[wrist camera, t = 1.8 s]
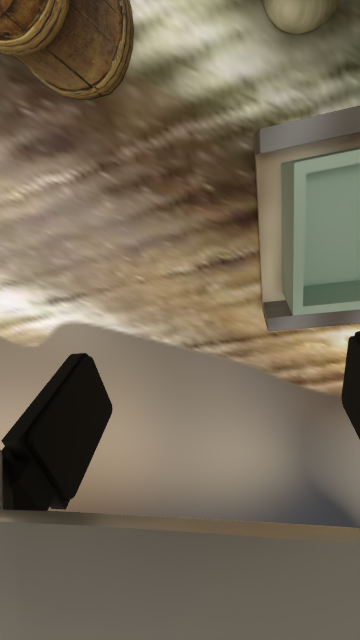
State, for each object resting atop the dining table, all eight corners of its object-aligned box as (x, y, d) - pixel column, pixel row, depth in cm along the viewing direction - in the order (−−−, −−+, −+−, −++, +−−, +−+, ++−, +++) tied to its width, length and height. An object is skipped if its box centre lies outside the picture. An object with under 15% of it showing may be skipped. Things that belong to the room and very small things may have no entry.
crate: (418, 134, 21) (469, 127, 17) (391, 280, 26) (423, 303, 22) (281, 162, 23) (294, 162, 19) (282, 292, 29) (293, 315, 24)
